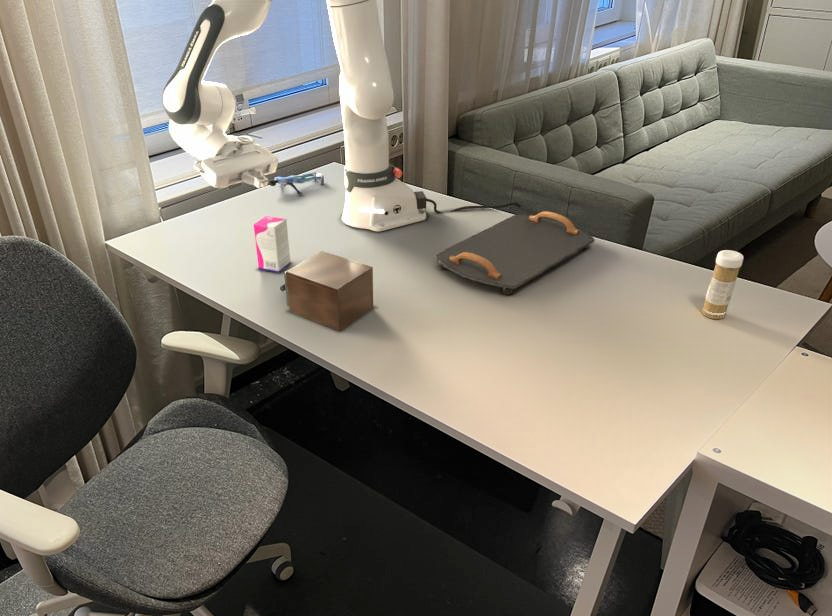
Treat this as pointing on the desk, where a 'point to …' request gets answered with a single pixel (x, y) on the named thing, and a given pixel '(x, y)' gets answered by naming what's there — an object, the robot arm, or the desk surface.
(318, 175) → the person figurine
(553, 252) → the serving tray
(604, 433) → the desk surface
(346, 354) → the desk surface
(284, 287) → the drawer
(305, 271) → the cabinet
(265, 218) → the supplement box
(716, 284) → the sprinkles bottle
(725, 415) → the desk surface
